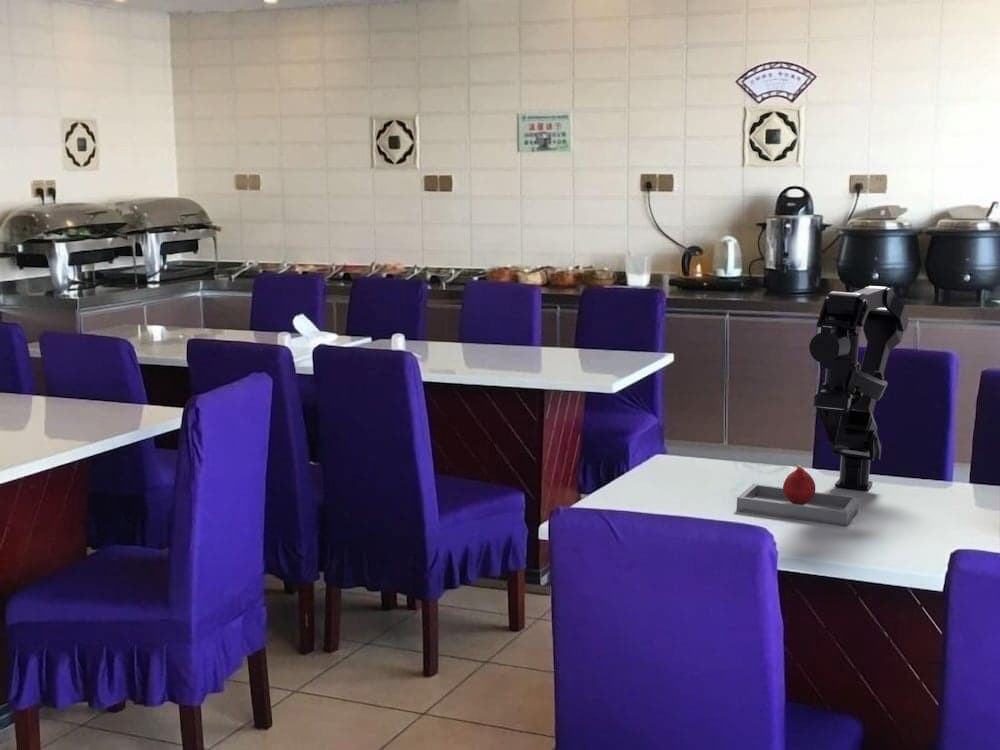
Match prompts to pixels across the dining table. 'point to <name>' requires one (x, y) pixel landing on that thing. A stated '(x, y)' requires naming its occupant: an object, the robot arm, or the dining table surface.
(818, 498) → the tray
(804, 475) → the onion
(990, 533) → the dining table surface
